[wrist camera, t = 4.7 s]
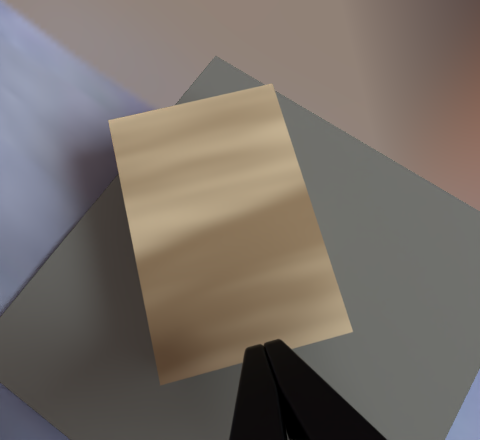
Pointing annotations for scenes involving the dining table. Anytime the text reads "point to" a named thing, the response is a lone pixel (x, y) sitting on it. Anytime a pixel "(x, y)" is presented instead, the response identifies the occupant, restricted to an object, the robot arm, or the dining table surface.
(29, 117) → the dining table surface
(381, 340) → the rubber mat
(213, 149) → the maple tile
